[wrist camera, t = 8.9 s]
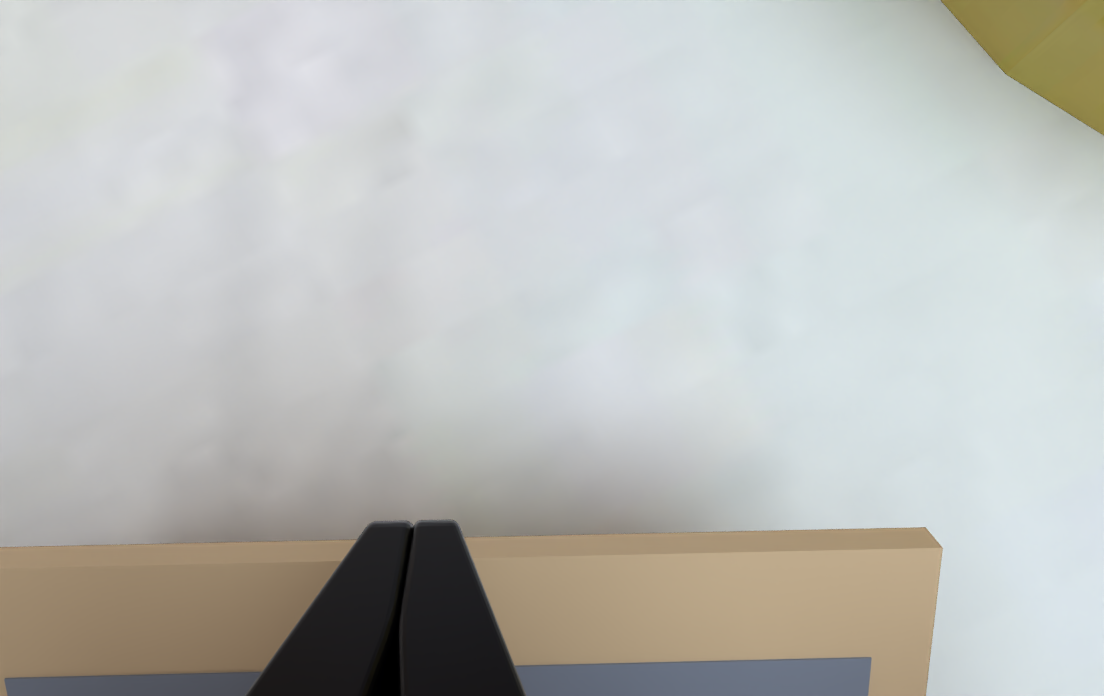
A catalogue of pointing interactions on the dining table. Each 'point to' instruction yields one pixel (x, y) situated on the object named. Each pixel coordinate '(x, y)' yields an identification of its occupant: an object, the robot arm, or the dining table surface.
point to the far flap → (497, 612)
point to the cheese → (1045, 48)
